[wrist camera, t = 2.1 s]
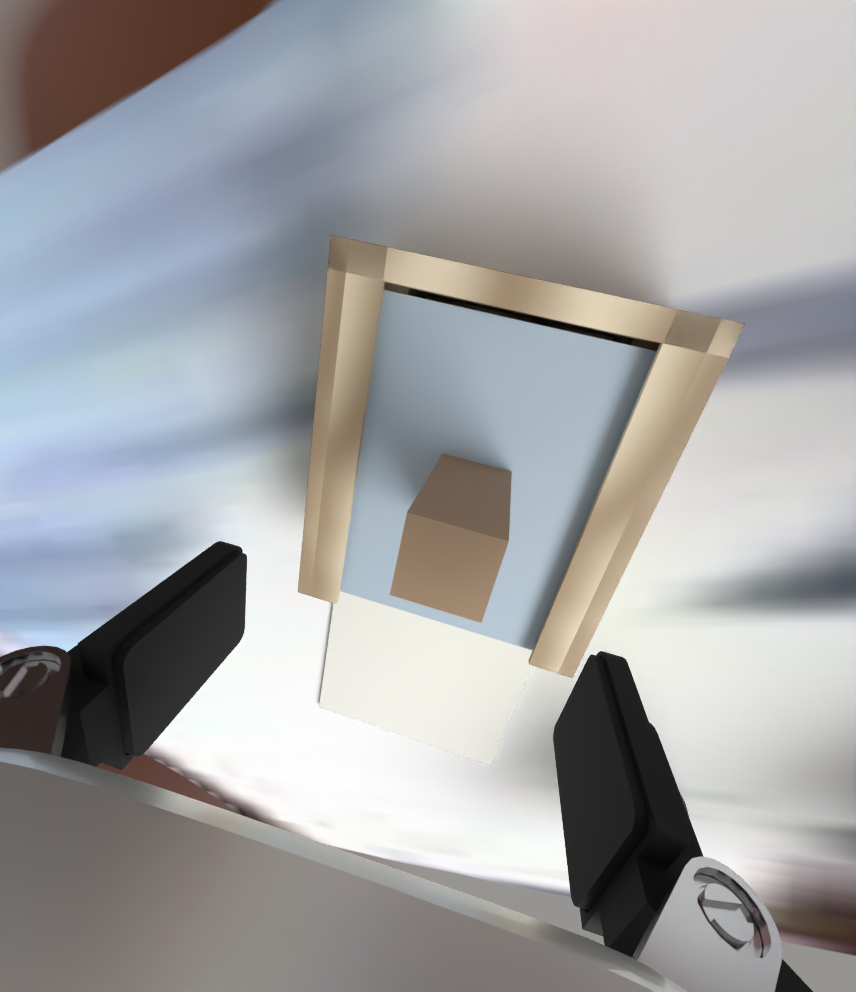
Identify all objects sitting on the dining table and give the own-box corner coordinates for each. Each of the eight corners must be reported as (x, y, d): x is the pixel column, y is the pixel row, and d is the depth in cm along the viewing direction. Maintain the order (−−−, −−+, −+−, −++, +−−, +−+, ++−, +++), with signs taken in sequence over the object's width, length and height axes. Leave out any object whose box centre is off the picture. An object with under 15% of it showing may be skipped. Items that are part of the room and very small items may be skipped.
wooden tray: (676, 325, 21) (745, 323, 15) (560, 600, 28) (572, 677, 22) (383, 261, 23) (330, 235, 16) (344, 536, 30) (297, 592, 24)
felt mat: (550, 622, 29) (551, 624, 29) (491, 762, 36) (491, 765, 36) (340, 559, 31) (339, 561, 31) (320, 704, 37) (318, 706, 37)
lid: (673, 355, 17) (790, 375, 10) (549, 641, 24) (563, 782, 16) (370, 287, 19) (272, 259, 11) (331, 575, 25) (254, 677, 18)
